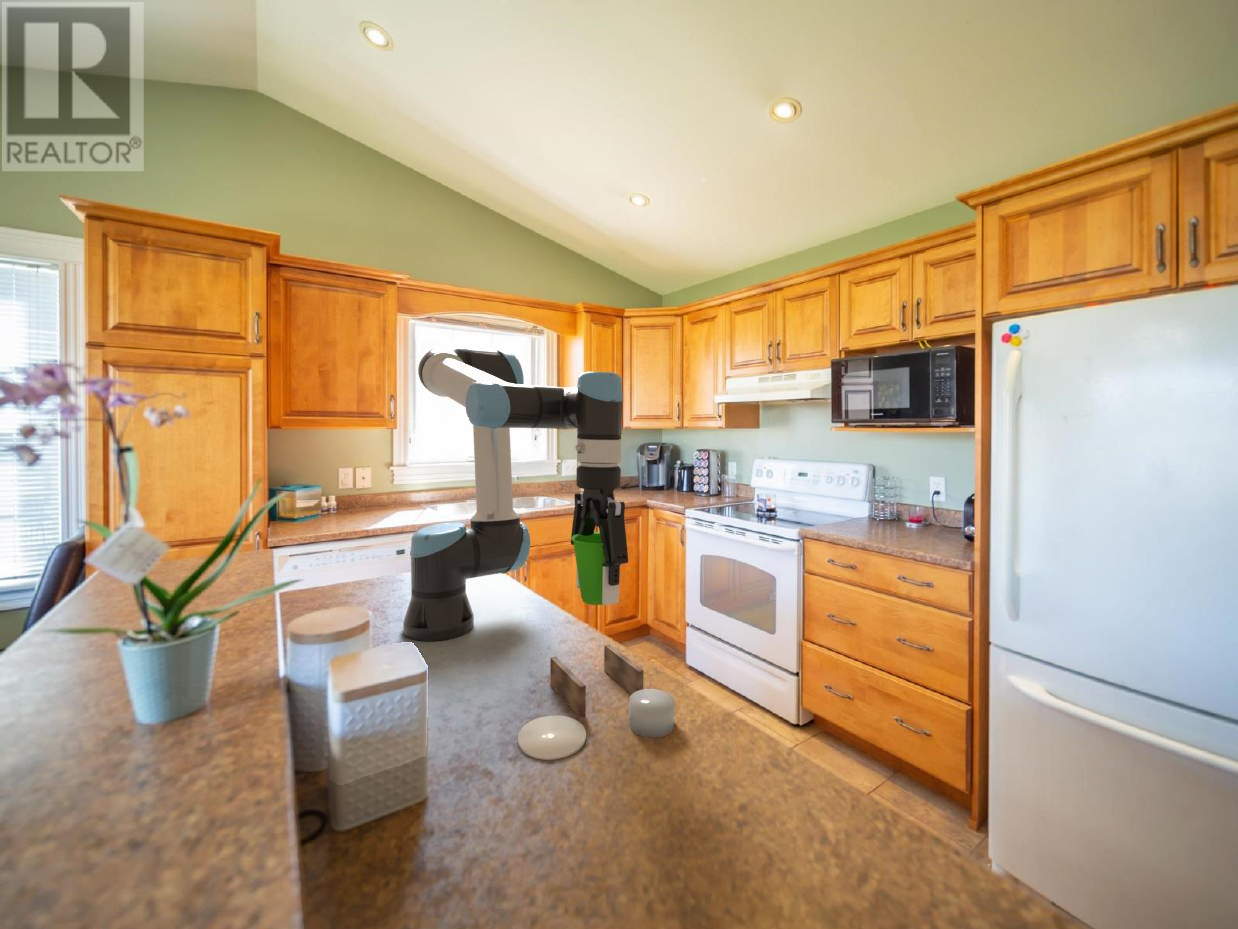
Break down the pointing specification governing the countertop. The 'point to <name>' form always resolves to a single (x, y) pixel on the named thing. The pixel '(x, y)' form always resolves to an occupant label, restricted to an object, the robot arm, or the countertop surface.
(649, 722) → the grey rounded puck
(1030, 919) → the countertop surface
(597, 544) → the cup
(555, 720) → the white oval pebble
